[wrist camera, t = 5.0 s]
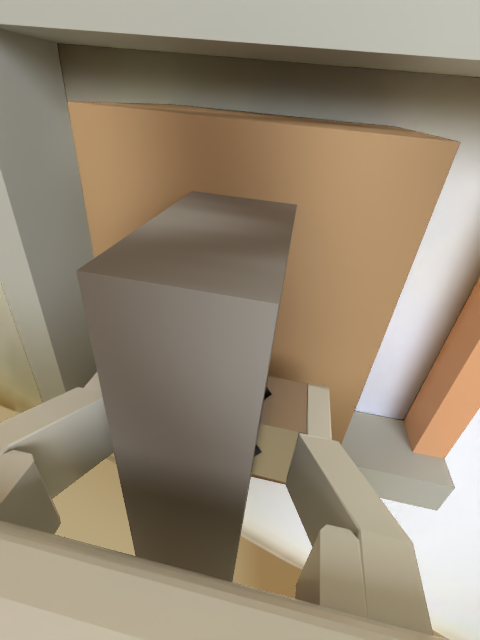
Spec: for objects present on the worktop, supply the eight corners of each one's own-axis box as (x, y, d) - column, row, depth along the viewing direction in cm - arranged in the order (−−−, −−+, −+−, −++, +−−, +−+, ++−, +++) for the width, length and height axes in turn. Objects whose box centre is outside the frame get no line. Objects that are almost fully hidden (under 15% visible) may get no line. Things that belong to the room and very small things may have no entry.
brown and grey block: (396, 126, 11) (676, 193, 2) (320, 385, 18) (324, 650, 9) (169, 104, 12) (-204, 94, 3) (176, 357, 19) (56, 575, 10)
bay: (692, -4, 9) (927, -73, 5) (418, 449, 19) (440, 520, 16) (1, -40, 11) (-136, -103, 8) (94, 382, 21) (53, 433, 18)
